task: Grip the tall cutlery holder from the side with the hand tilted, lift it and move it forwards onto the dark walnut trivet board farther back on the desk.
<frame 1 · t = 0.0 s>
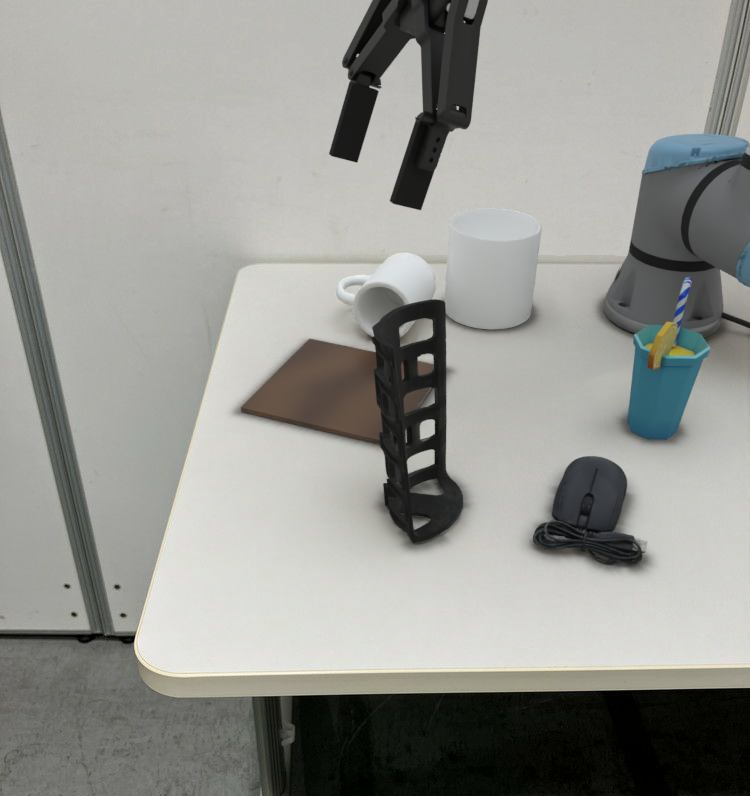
hand: (372, 181, 81), 28 cm above the table, tool tilted 20°, fingers open, 13 cm apart
mug: (380, 323, 121), on the table
cup: (652, 424, 102), on the table
cup 2: (487, 311, 124), on the table
trivet board: (346, 390, 107), on the table
holder: (415, 510, 89), on the table
computer mouse: (591, 515, 89), on the table
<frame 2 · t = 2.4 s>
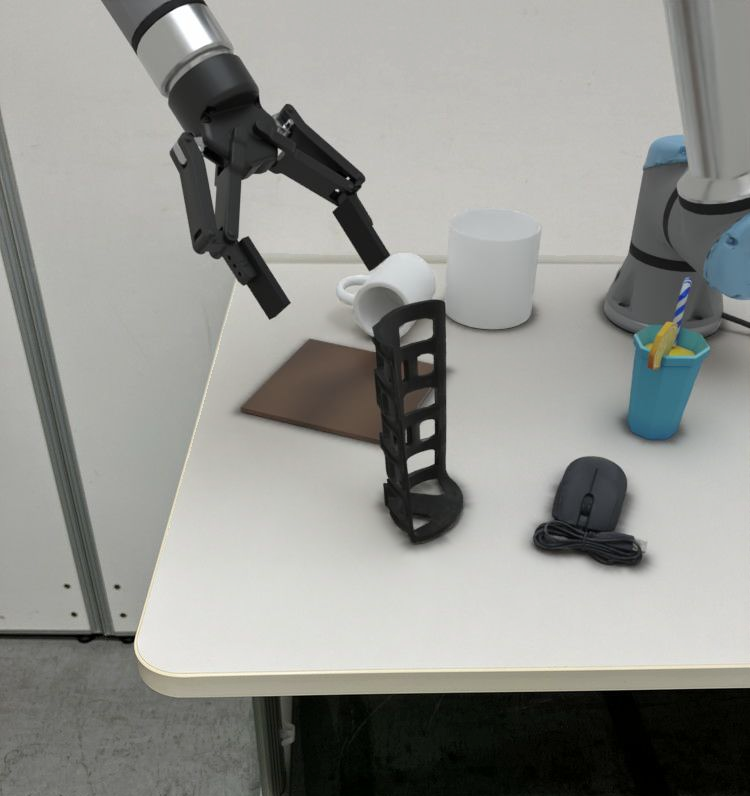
hand: (332, 286, 82), 20 cm above the table, tool tilted 45°, fingers open, 13 cm apart
nothing on the table moved.
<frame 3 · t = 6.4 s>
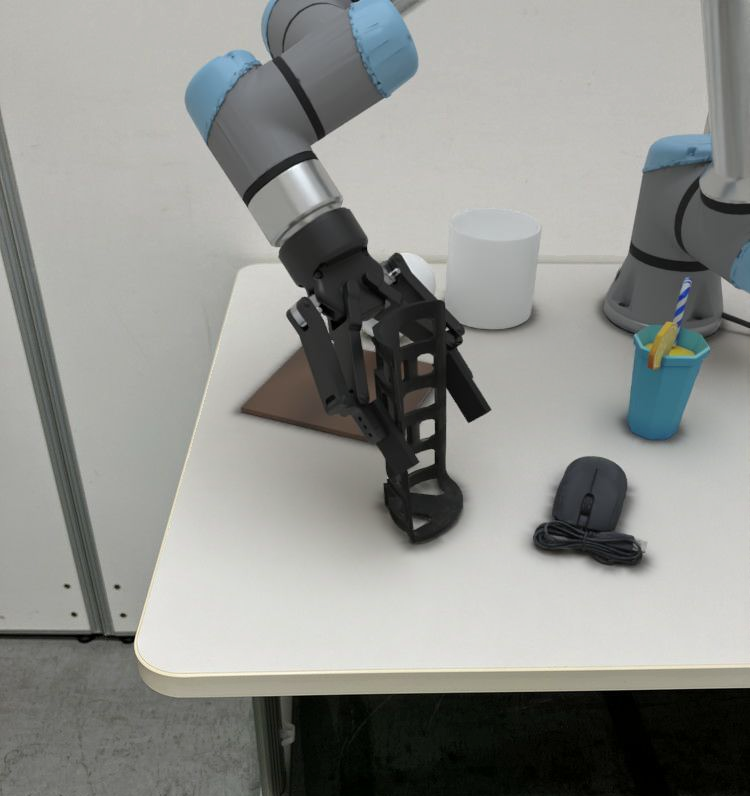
hand: (445, 441, 82), 9 cm above the table, tool tilted 45°, fingers closed on holder, 10 cm apart
holder: (415, 510, 89), on the table, touching gripper
everything else where it was.
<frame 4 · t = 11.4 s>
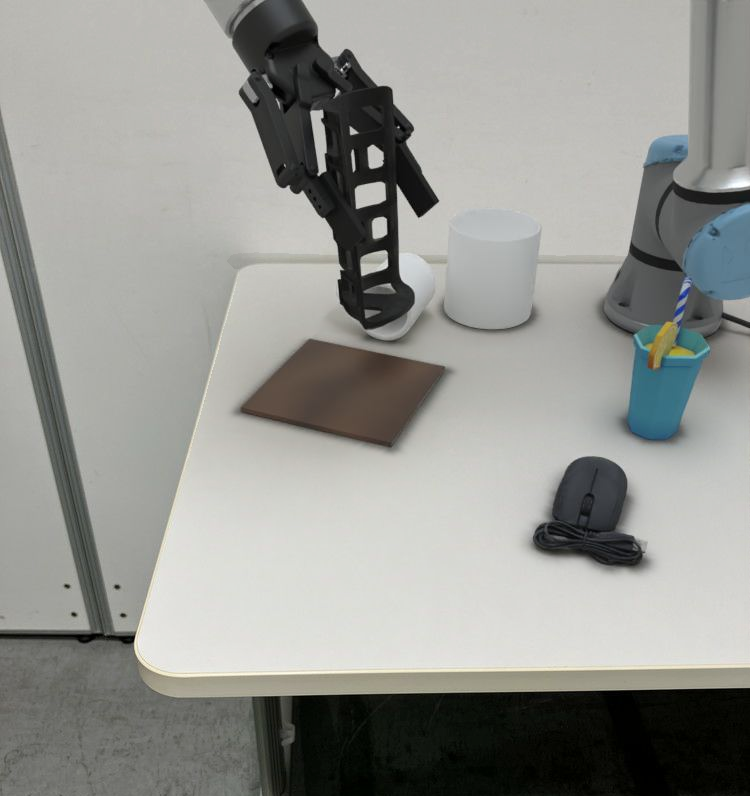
hand: (394, 225, 86), 23 cm above the table, tool tilted 45°, fingers closed on holder, 10 cm apart
holder: (368, 308, 93), point 14 cm above the table, touching gripper
everything else where it was.
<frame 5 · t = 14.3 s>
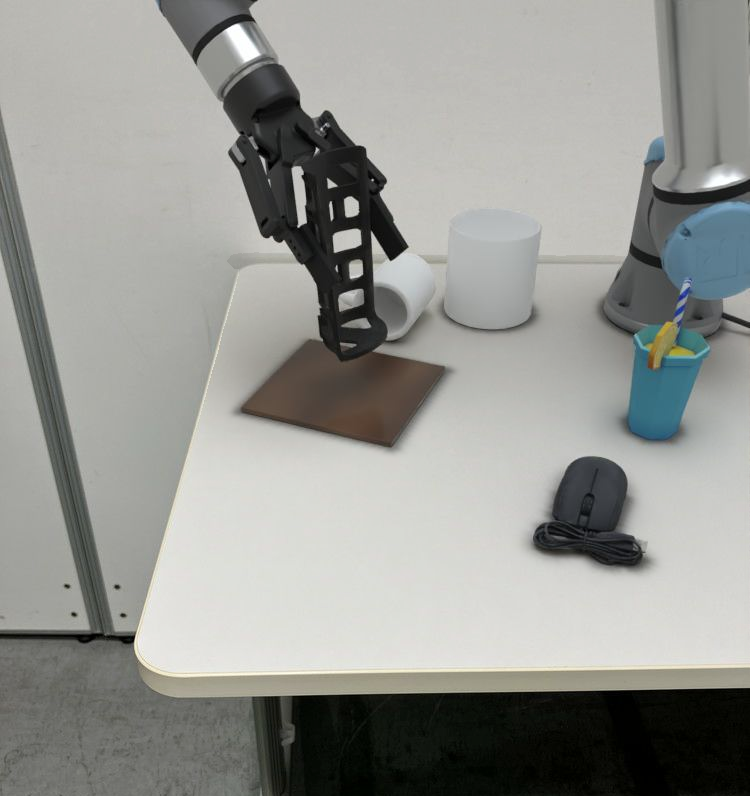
hand: (367, 270, 96), 16 cm above the table, tool tilted 45°, fingers closed on holder, 10 cm apart
holder: (345, 340, 103), point 6 cm above the table, touching gripper
everything else where it was.
when the fingers open (10 cm above the table, at t = 16.6 s): holder stays where it is, resting on trivet board.
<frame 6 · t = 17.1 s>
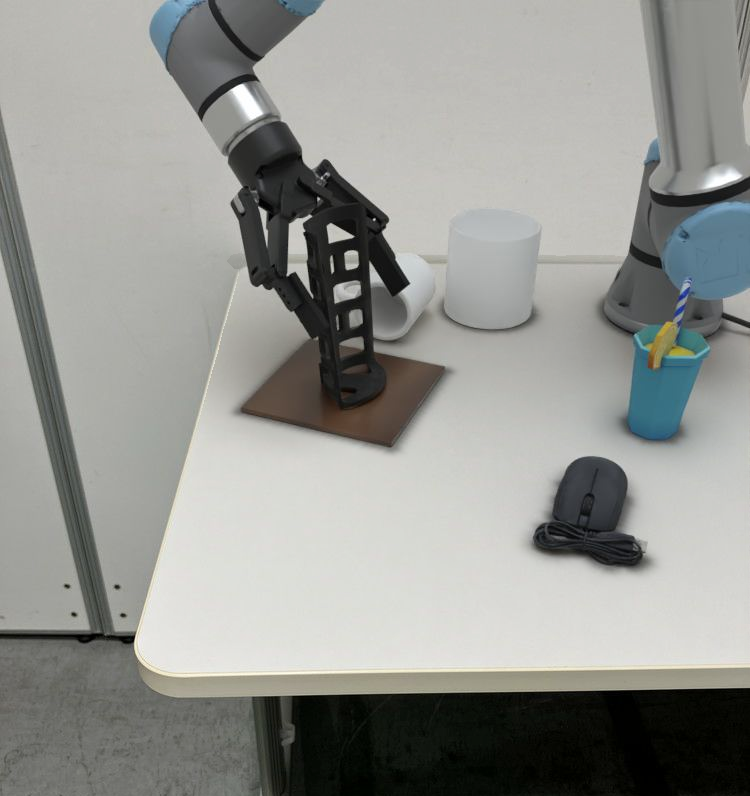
hand: (363, 311, 99), 11 cm above the table, tool tilted 45°, fingers open, 13 cm apart
holder: (346, 387, 107), resting on trivet board
everything else where it was.
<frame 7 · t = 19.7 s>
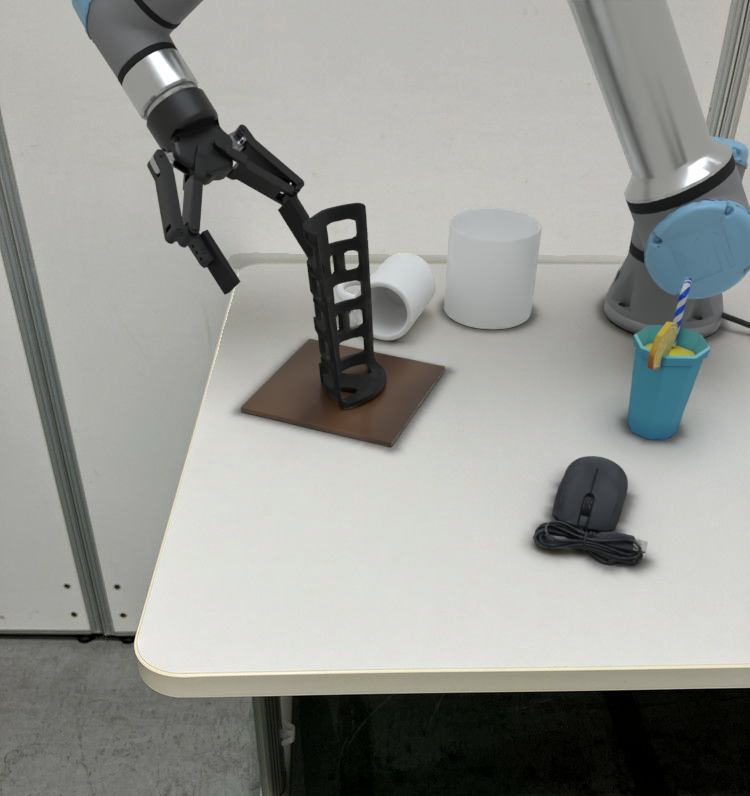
hand: (275, 269, 105), 12 cm above the table, tool tilted 45°, fingers open, 13 cm apart
nothing on the table moved.
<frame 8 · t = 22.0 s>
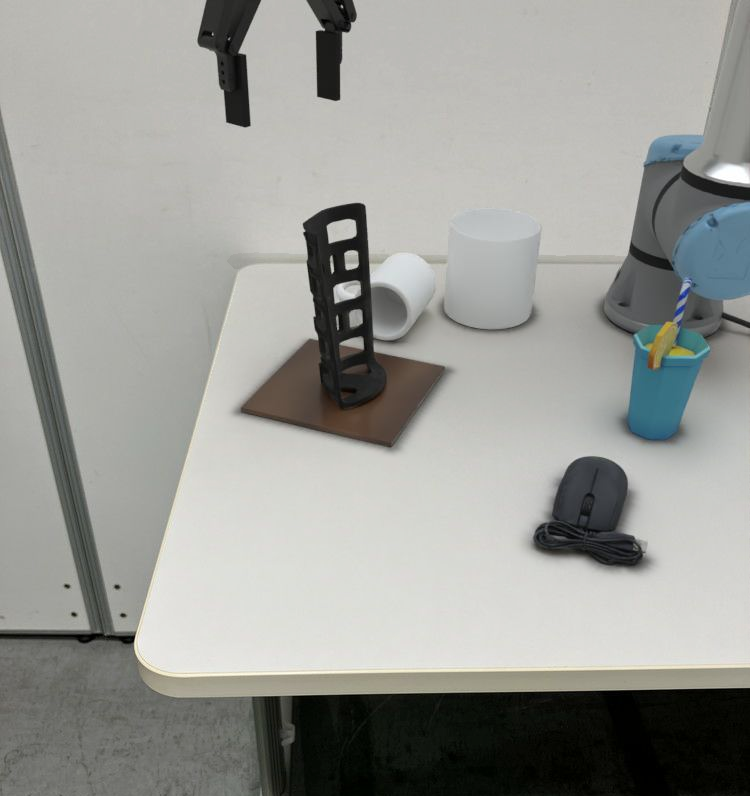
hand: (285, 111, 96), 29 cm above the table, tool pointing down, fingers open, 13 cm apart
nothing on the table moved.
at the end: holder inside the target area on the trivet board (0.1 cm from its centre), point 0.4 cm above the trivet board's base; holder tilted 0°; the gripper is holding nothing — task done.
